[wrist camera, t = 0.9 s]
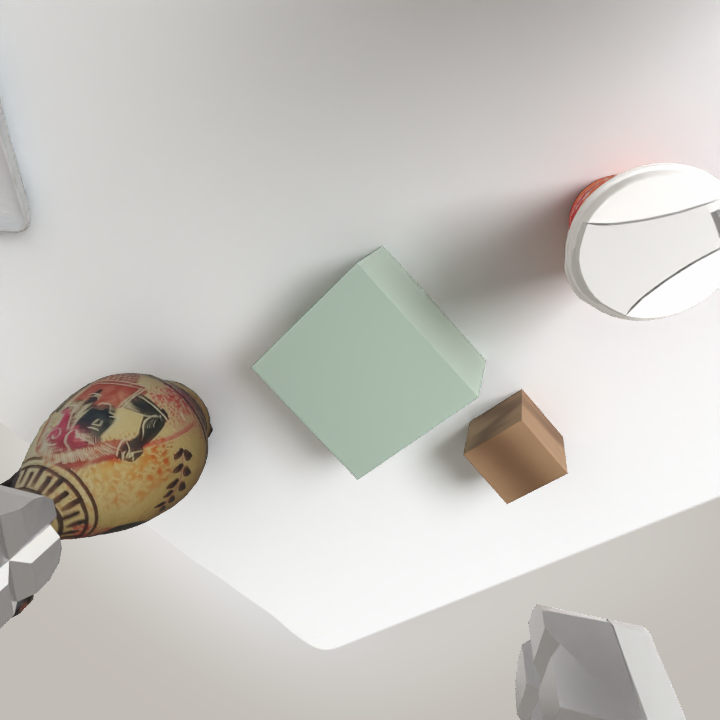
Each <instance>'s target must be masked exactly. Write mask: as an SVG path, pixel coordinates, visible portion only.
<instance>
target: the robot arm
mask: <svg viewBox="0 0 720 720" xmlns="http://www.w3.org/2000/svg"><path fill="white" fill-rule="evenodd" d="M56 517H57V514H56V510H55V505H54V501H53V500H51V499H49V498H47V497H45V496H42V495H38V494H34V493H30V492H26V491H22V490H18V489H14V488H10V487H6V486H2V485H0V628H1V627H2V626H3V625H4V624H5V623H6V622H7V621H8V620H9V619H10V618H11V617H13V616H14V613H15V609H16V605H17V602H18V601H20V600H22V599H25V598H27V597H29V596H31V595H33V594H35V593H37V592H38V591H39V590H40V589H41V588H42V587H43V586H44V585H45V584H46V583H47V581H49V580H50V578H51V576H52V574H53V573H54V571H55V569H56V567H57V565H58V564H59V560H60V555H61V549H62V548H61V541H60V537H59V535H58V534H57V533H56V531H55V530H54V529H53V527H52V526H51V524H52V522H53V521H54V520H55V518H56ZM528 624H529V632H530V638H531V639H530V640H529V641H527V642H526V643H524V644H522V646H521V650H520V654H519V658H518V663H517V672H516V705H517V715H518V716H519V718H520V719H521V720H686V718H685V716H684V713H683V711H682V709H681V706H680V704H679V702H678V699H677V697H676V694H675V692H674V690H673V687H672V685H671V682H670V680H669V678H668V675H667V673H666V671H665V668H664V666H663V663H662V661H661V659H660V657H659V654H658V652H657V649H656V647H655V644H654V642H653V640H652V638H651V635H650V633H649V632H648V631H647V630H646V629H645V628H644V627H643V626H638V625H634V624H629V623H624V622H619V621H614V620H610V619H606V620H605V619H603V618H599V617H594V616H590V615H585V614H580V613H575V612H570V611H566V610H561V609H556V608H552V607H547V606H542V605H536V606H535V607H534V609H533V610H532V613H531V616H530V619H529V622H528Z"/></svg>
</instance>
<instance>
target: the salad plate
mask: <svg viewBox="0 0 720 720" xmlns="http://www.w3.org/2000/svg"><path fill="white" fill-rule="evenodd" d="M29 224H30V209H29V204H28V201H27V197H26V193H25V190H24V187H23V183H22V180H21V176H20V173H19V169H18V166H17V162H16V158H15V154H14V151H13V147H12V143H11V140H10V136H9V132H8V128H7V125H6V121H5V117H4V113H3V109H2V105H1V101H0V231H2V232H22V231H24V230H26V229H27V228H28V226H29Z"/></svg>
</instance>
